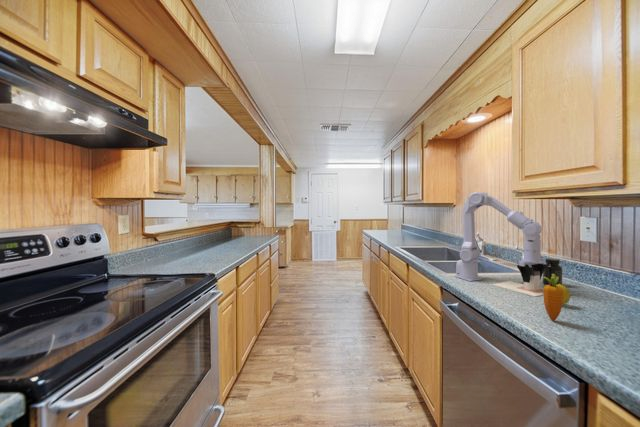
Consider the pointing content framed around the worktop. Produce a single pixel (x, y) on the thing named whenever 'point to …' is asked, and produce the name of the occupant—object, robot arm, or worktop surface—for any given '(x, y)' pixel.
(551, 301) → the carrot
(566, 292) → the lemon
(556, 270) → the supplement bottle
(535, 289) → the grey rectangular block
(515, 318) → the worktop surface
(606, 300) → the worktop surface
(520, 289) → the paper sheet
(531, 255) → the robot arm
